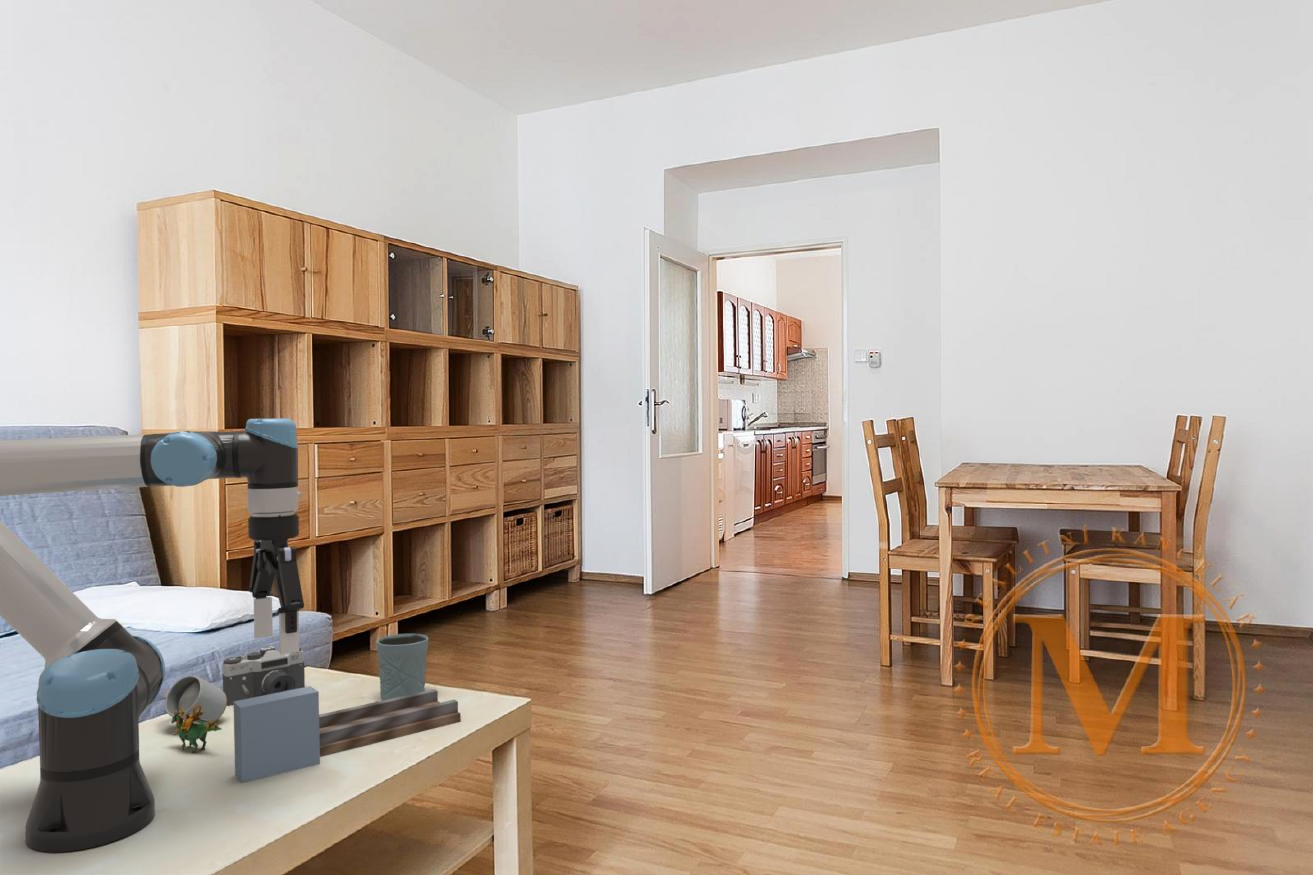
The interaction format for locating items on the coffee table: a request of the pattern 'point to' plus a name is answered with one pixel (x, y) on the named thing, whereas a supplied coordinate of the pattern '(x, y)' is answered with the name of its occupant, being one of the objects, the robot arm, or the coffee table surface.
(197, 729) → the figurine
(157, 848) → the coffee table surface
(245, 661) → the camera
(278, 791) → the coffee table surface
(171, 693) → the ceramic mug
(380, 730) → the door track
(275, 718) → the door panel
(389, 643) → the grey green cup
